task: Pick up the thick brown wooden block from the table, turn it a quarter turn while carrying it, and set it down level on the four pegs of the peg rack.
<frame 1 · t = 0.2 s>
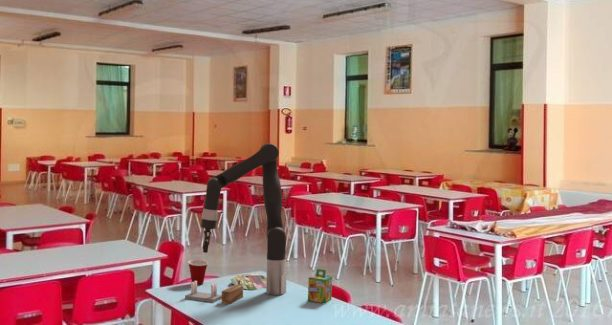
hand: (204, 250, 296), 22 cm above the table, tool pointing down, fingers open, 8 cm apart
green yellow handled box: (319, 300, 291), on the table
plastic cup: (198, 284, 317), on the table
peg rack: (203, 298, 291), on the table
city model: (252, 285, 318), on the table
brown wooden block: (232, 300, 288), on the table
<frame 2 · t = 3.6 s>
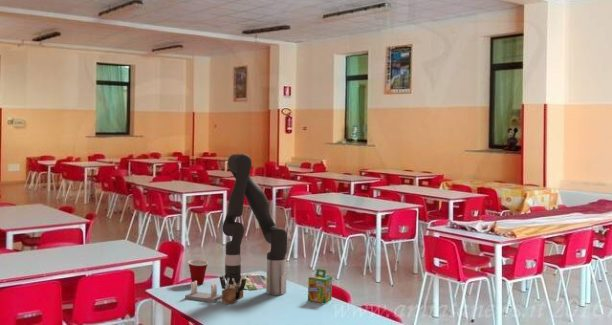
hand: (232, 298, 288), 1 cm above the table, tool pointing down, fingers closed on brown wooden block, 4 cm apart
brown wooden block: (232, 300, 288), on the table, touching gripper
everything else where it was.
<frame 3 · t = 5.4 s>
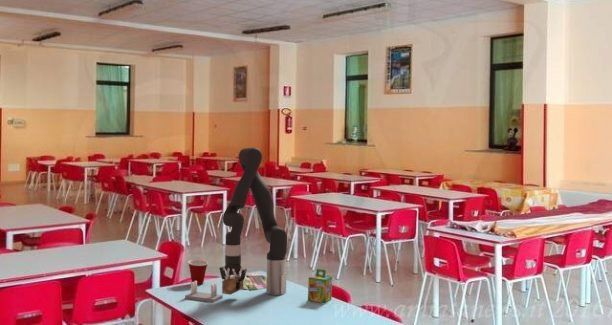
hand: (232, 288, 288), 5 cm above the table, tool pointing down, fingers closed on brown wooden block, 4 cm apart
brown wooden block: (232, 290, 288), point 5 cm above the table, touching gripper
everything else where it was.
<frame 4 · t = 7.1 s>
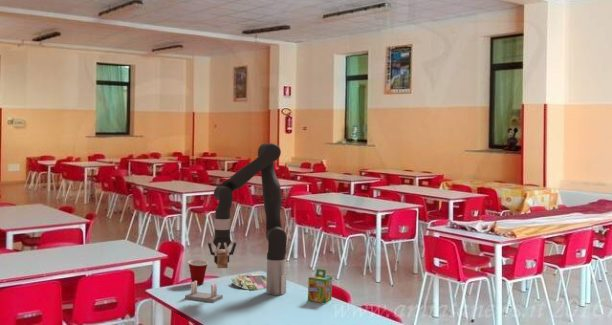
hand: (221, 263, 288), 18 cm above the table, tool pointing down, fingers closed on brown wooden block, 4 cm apart
brown wooden block: (221, 265, 288), point 17 cm above the table, touching gripper
everything else where it was.
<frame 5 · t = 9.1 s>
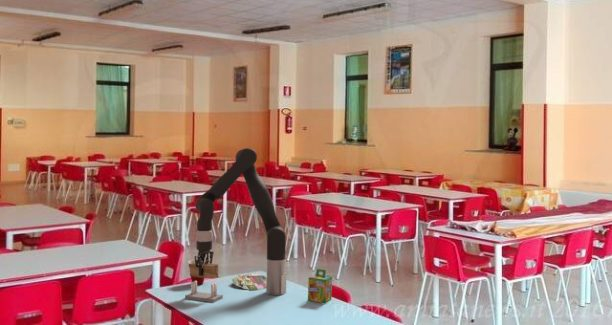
hand: (204, 274, 290), 12 cm above the table, tool pointing down, fingers closed on brown wooden block, 4 cm apart
brown wooden block: (204, 276, 290), point 11 cm above the table, touching gripper
everything else where it was.
when the fingers open (9 cm above the table, at t = 10.8 s): brown wooden block stays where it is, resting on peg rack.
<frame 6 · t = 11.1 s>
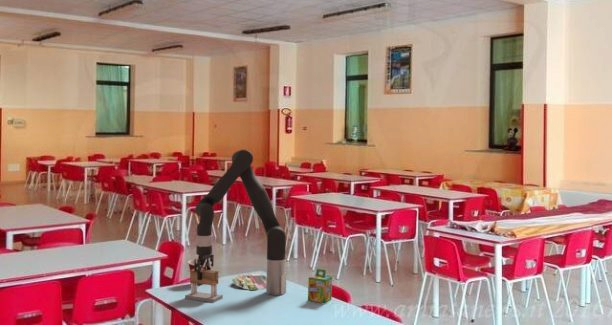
hand: (204, 278, 290), 10 cm above the table, tool pointing down, fingers open, 7 cm apart
brown wooden block: (204, 282, 290), point 7 cm above the table, touching peg rack
everything else where it was.
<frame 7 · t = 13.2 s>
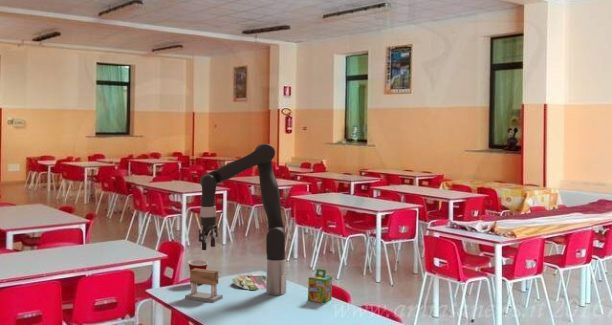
hand: (208, 248, 293), 24 cm above the table, tool pointing down, fingers open, 8 cm apart
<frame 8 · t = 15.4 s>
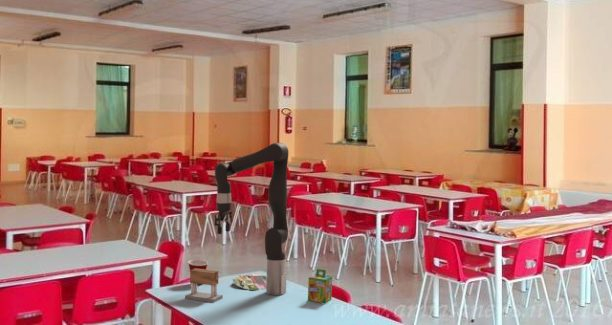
hand: (223, 232, 313), 28 cm above the table, tool pointing down, fingers open, 8 cm apart
at the end: brown wooden block 0.1 cm off-centre on the peg rack, point 7.5 cm above the peg rack's base; brown wooden block tilted 0°; the gripper is holding nothing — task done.
